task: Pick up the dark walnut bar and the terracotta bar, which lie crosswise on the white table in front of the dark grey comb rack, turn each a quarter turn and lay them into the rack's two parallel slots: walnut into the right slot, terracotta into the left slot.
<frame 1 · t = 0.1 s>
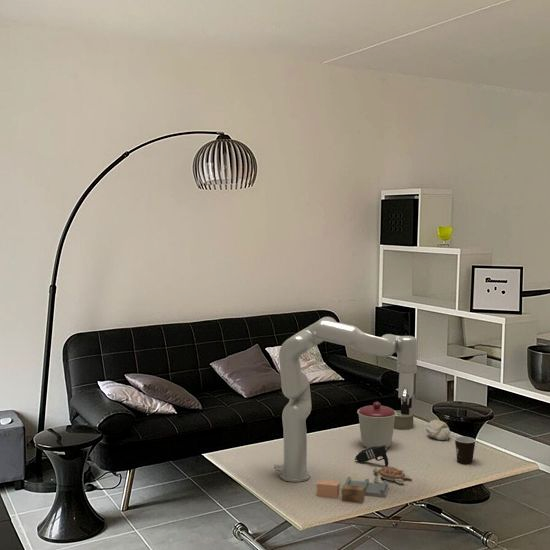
hand: (406, 411, 279), 31 cm above the table, fingers open, 9 cm apart
walnut bar: (352, 500, 270), on the table
gun: (371, 465, 308), on the table
can: (401, 427, 362), on the table
terracotta bar: (328, 495, 275), on the table
slot rack: (365, 489, 280), on the table
fossil replica: (438, 438, 343), on the table
decorative turtle: (390, 479, 292), on the table
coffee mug: (464, 461, 312), on the table
canister: (376, 446, 332), on the table
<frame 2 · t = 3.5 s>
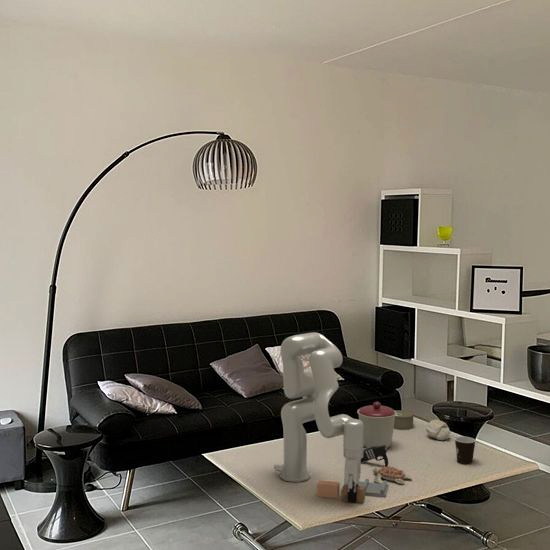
hand: (353, 499, 270), 0 cm above the table, fingers closed on walnut bar, 3 cm apart
walnut bar: (353, 499, 270), on the table, touching gripper
everything else where it was.
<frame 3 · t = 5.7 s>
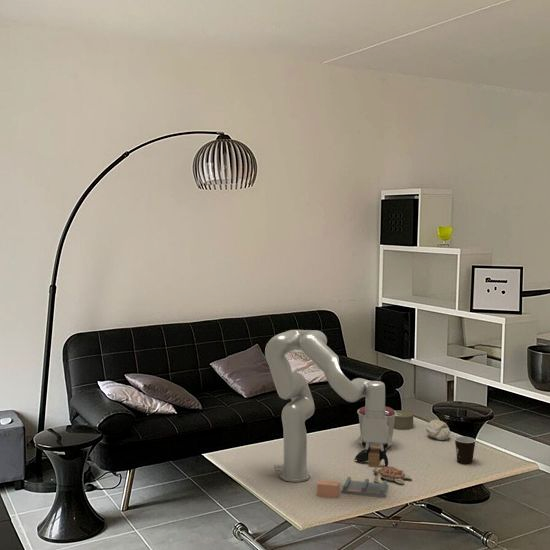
hand: (374, 458, 278), 13 cm above the table, fingers closed on walnut bar, 4 cm apart
walnut bar: (375, 462, 279), point 11 cm above the table, tilted 7°, touching gripper
everything else where it was.
when the fingers open (3 cm above the table, at t = 7.7 s): walnut bar stays where it is, resting on slot rack.
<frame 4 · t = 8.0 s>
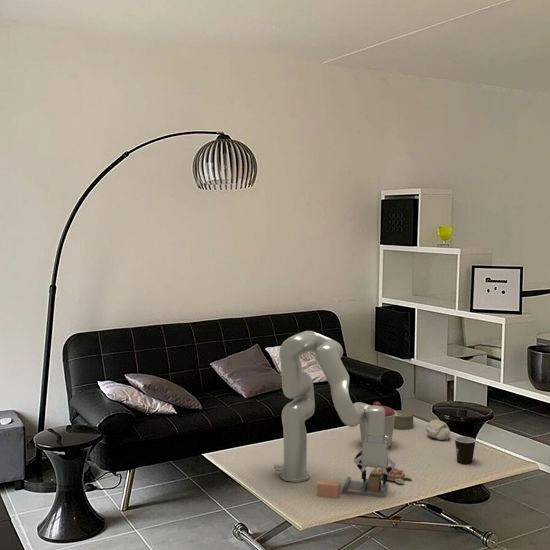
hand: (374, 481, 279), 4 cm above the table, fingers open, 7 cm apart
walnut bar: (374, 487, 280), point 1 cm above the table, touching slot rack
everything else where it was.
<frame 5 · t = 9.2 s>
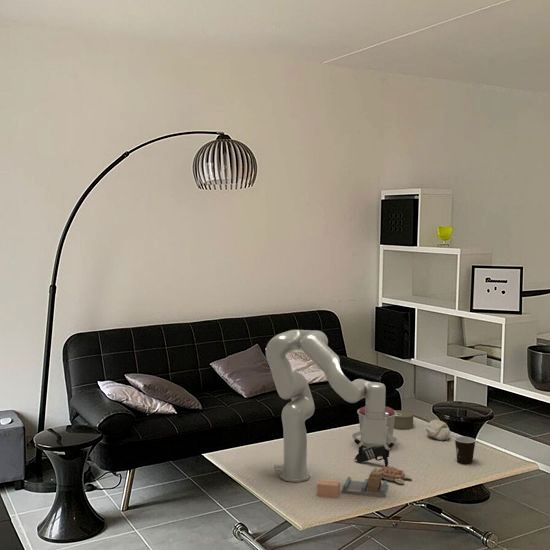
hand: (373, 457, 278), 13 cm above the table, fingers open, 9 cm apart
nothing on the table moved.
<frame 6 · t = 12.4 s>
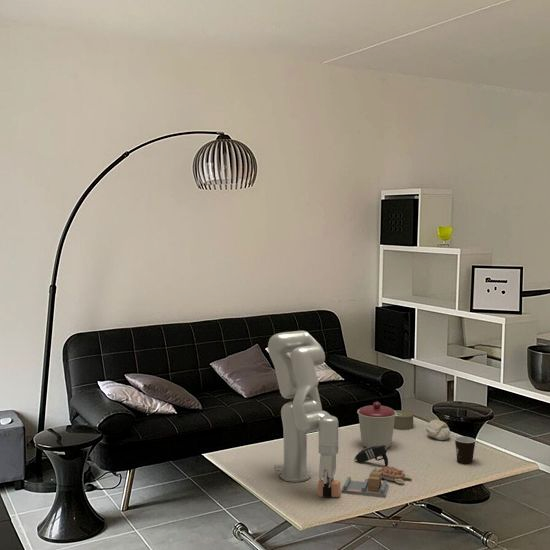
hand: (328, 494, 275), 0 cm above the table, fingers closed on terracotta bar, 3 cm apart
terracotta bar: (329, 494, 275), on the table, tilted 5°, touching gripper
everything else where it was.
when the fingers open (3 cm above the table, at t = 16.3 s): terracotta bar moves 1 cm, resting on slot rack.
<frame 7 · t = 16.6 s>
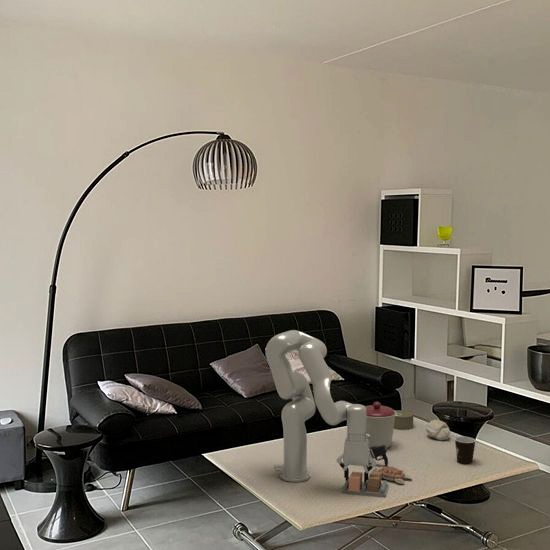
hand: (356, 480, 281), 3 cm above the table, fingers open, 6 cm apart
walnut bar: (374, 487, 280), point 1 cm above the table, touching gripper, slot rack
terracotta bar: (355, 487, 279), point 1 cm above the table, touching slot rack
everything else where it was.
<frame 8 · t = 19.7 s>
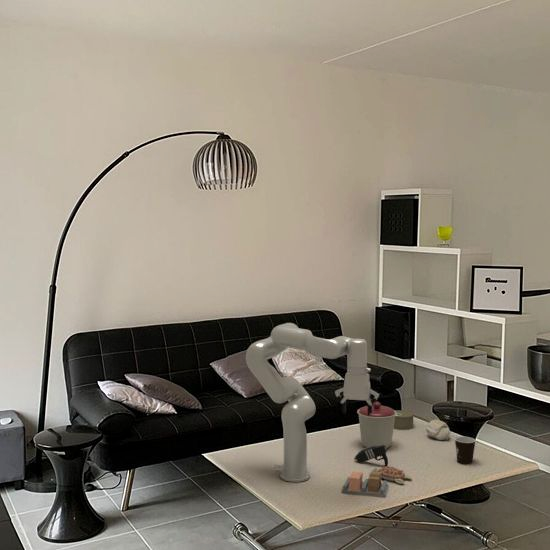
hand: (356, 413, 278), 30 cm above the table, fingers open, 9 cm apart
walnut bar: (374, 487, 280), point 1 cm above the table, touching slot rack
everything else where it was.
at the end: walnut bar 0.6 cm from the target spot on the slot rack, point 1.0 cm above the slot rack's base; terracotta bar 1.6 cm from the target spot on the slot rack, point 1.2 cm above the slot rack's base; the gripper is holding nothing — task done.
